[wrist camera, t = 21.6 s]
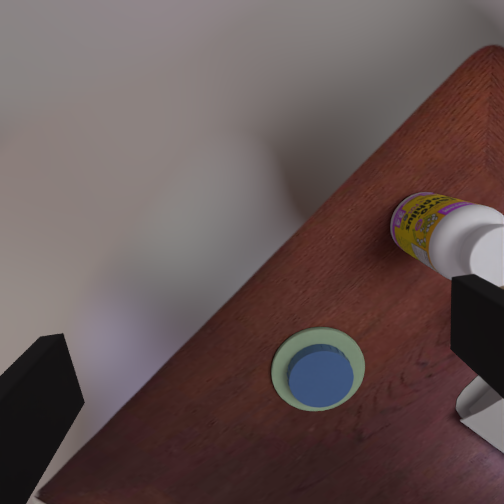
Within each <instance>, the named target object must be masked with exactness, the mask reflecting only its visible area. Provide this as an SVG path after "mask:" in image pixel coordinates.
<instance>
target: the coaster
mask: <svg viewBox="0 0 504 504" xmlns="http://www.w3.org/2000/svg"><path fill="white" fill-rule="evenodd" d="M314 344H327V345H331V346H334V347H337V348H338V349H339V350H341V351H342V352H343V353H344V354H345V356H346V357H347V358H348V360H349V361H350V365H351V367H352V369H353V374H354V380H353V384H352V387H351V389H350V391H349V393H348V394H347V395H346V396H345V397H344V398H343V399H342V400H341V401H339V402H337V403H336V404H333V405H331V406H328V407H321V408H317V407H310V406H307V405H304V404H303V403H301V402H299V401H298V400H297V399H296V398H295V397H294V396H293V394H292V393H291V390H290V386H289V385H288V381H287V380H288V377H287V370H288V365H289V363H290V361H291V359H292V358H293V357H294V355H295V354H296V353H297V352H299V351H300V350H302V349H303V348H304V347H307V346H310V345H314ZM364 371H365V362H364V357H363V354H362V352H361V350H360V348H359V346H358V345H357V343H356V342H355V341H354V340H353V339H352V338H351V337H350V336H348V335H347V334H345V333H344V332H342V331H339V330H337V329H333V328H328V327H313V328H308V329H305V330H302V331H300V332H297V333H295V334H294V335H292V336H291V337H289V338H288V339H287V340H286V341H285V342H284V343H283V344H282V345H281V346H280V347H279V349H278V350H277V352H276V354H275V356H274V358H273V362H272V367H271V375H272V381H273V384H274V387H275V389H276V391H277V393H278V394H279V395H280V397H281V398H282V399H283V400H284V401H286V402H287V403H288V404H290V405H292V406H294V407H296V408H299V409H302V410H307V411H323V410H327V409H331V408H334V407H336V406H338V405H340V404H342V403H344V402H345V401H347V400H348V399H349V398H350V397H351V396H352V395H353V394H354V393H355V392H356V391H357V389H358V388H359V386H360V384H361V382H362V380H363V376H364Z"/></svg>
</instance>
